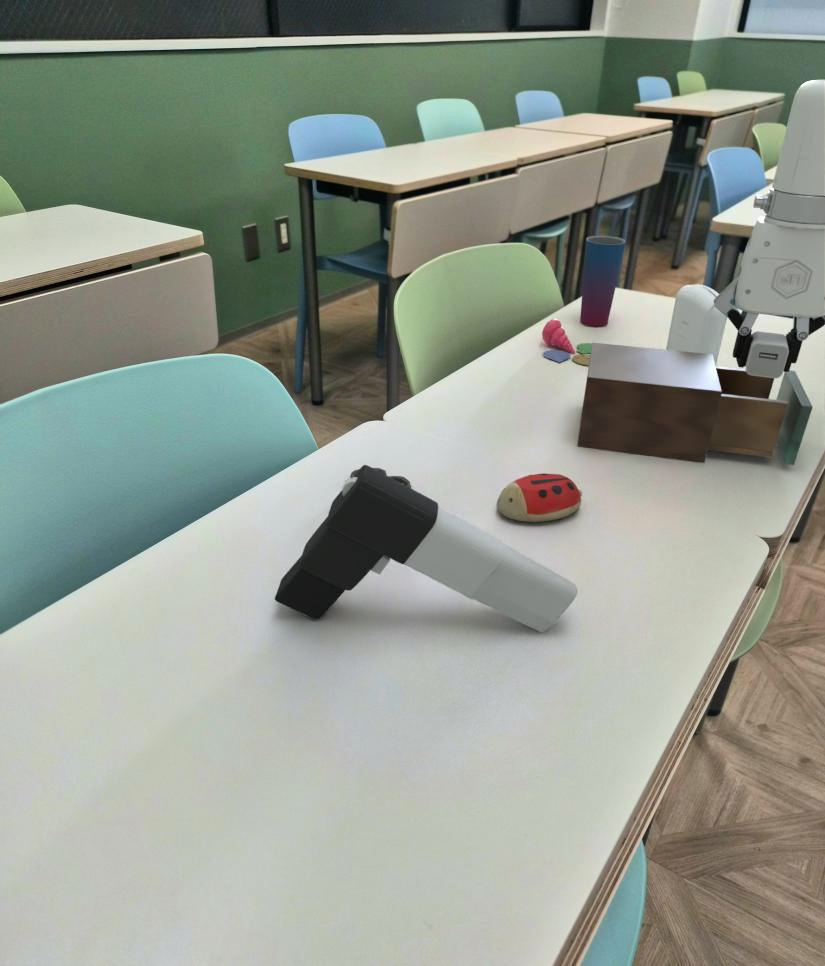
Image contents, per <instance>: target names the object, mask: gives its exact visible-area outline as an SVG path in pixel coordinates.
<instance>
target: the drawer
mask: <svg viewBox="0 0 825 966" xmlns="http://www.w3.org/2000/svg"><path fill="white" fill-rule="evenodd" d="M716 370H717V374H718V378H719V382H720V386H721V390H722V394H721V399H720V403H719V407H718V410H717V414H716V418H715V422H714V426H713V430H712V434H711V438H710V442H709V446H708V450H707V451H714V452H722V453H723V452H724V453H730V454H731V453H732V454H739V455H747V456H757V457H762V458H763V457H764V458H773V455H774V451H775V448H776V446H777V449H778V452H779V456H780V458H781V460H782V464H783V465H790V466H794V465H795V463H796V461H797V457H798V454H799V451H800V447H801V444H802V442H803V438H804V435H805V432H806V429H807V426H808V423H809V420H810V417H811V414H812V411H813V405H812V402H811V401H810V398H809V397H808V395H807V392H806V391H805V389H804V386H803V384H802V382H801V380H800V378H799V376H798V374H797V372H796V371H795V370H791V369H790V370H789V372H784V371H783V376H782V380H781V382H780V386H779V390H778V394H777V396H776V399H772V398H770V397H771V392H772V389H773V384H774V381H775V378H768V377H761V376H753V375H749V374H748V373H747V372H746V368H739V367H738V368H737V367H727V366H719V365H718V366H717V365H716Z"/></svg>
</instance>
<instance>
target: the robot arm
mask: <svg viewBox="0 0 825 966" xmlns="http://www.w3.org/2000/svg"><path fill="white" fill-rule="evenodd" d="M752 205H753V206H752V207H753V208H755V209H760V210H762V211H763V212H764V216H759V217H758V218H757V220H756V222H755V224H754V227H753V228H752V231H751V233H750V235H749V238H748V241H747V244H746V246H745V250H744V252H743V254H742V257H741V261H740V265H739V268H738V270H737V274H736V277H735V279H733V280H732V281H731V282H730V283H729V284H728V285H727V286H726V287H725V288H724V289H723V290H722V291H721V292H720V293H718V294H719V295H718V296H717V297H716V298H715V299H714V305H715V307H716V308H717V309H718V310H719V311H721V312H722V313H723V314H724V315H726V316H727V319H728V320H729V321H730V323H732V325H733V326H734V328H735V329H736V330H737V333H736V334H737V335H736V337H735V341H734V346H733V349H732V358H734V359H736V364H737V367H738V368H741V369H744V367H745V368H746V361H747V358H748V354H749V350H750V346H751V343H752V340H753V337H752V334H753V333H752V331H753V330H752V329H753V326H754V324H755V322H756V320H757V318H758V317H759V315H769V316H771V315H772V316H782V317H792V328H791V329H790V331H788V332H787V333H786V334H785V336H786V338H787V344H788V349H789V353H788V357H787V360H786V364H785V367H784V371H783V373H784V372H789V370H790V371H791V367H792V364H796V363H797V361H798V359H799V355H800V351H801V348H802V345H803V342H804V341H806V340H807V339H808V338H809V336H810V335H812V334H813V333H815V332H817V331H818V330H820V329H821V328H823V327H824V326H825V79H814V80H809V81H806V82H804V83H803V84H801V85H800V86H799V88H798V89H797V90H796V92H795V94H794V97H793V100H792V103H791V108H790V112H789V116H788V119H787V124H786V128H785V133H784V135H783V140H782V145H781V148H780V153H779V158H778V161H777V165H776V169H775V173H774V178H773V181H772V185H771V187H770V188H769V191H767V192H766V193H763V194H756V195H755V196H754V200H753V204H752ZM733 300H735V304H736V306H737V307H735V306H734V305H733V304H732V303H731V301H733ZM738 309H739V310H738ZM740 310H741V312H740Z"/></svg>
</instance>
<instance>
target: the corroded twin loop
mask: <svg viewBox="0 0 825 966" xmlns="http://www.w3.org/2000/svg"><path fill="white" fill-rule="evenodd" d="M372 468H373V469H375V470H377V471H379V472H381V473H383V474H385V475H387V471H386V470H385V469H383V468H380V467H372ZM359 469H360V468H358V469H354V470H353V471H351V473H350V475H349V479H350V478H353V476H354V475H355V474H356V473H357V472H358V470H359ZM387 476H388V475H387ZM388 477H390V478H392V479H394V480H396V481H398V482H400V483H402V484H403V485H405V486H407V487H409V488H411V489H412V485H411V482H410V480H409V479H407V478H406V477H405V476H402V475H390V476H388Z"/></svg>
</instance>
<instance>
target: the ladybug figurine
mask: <svg viewBox="0 0 825 966" xmlns="http://www.w3.org/2000/svg"><path fill="white" fill-rule="evenodd" d="M582 496H583V491H582V490H581V489H579V488H578V486H577V485H576V483H575V482H574V481H573V480H572V479H571V478H569V477H567V476H566V475H563V474H560V473H536V474H529V475H526V476H523V477H520V478H519V477H518V478H517V479H515V480H513V481H511V482H509V483H508V484H507V485H506V486H504V488H503V489H502V491H501V492H500V494H499V495H498V498H497V501H496V508H497V510H498V512H499V513H500V514H502V515H503V516H504V517H506V518H509V519H511V520H515V521H519V522H527V523H541V522H549V521H556V520H559V519H562V518H565V517H567V516H570V515H572V514H573V513H575V512H576V511H577V510H578V509H579V508H580V507H581V503H582V498H581V497H582Z"/></svg>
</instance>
